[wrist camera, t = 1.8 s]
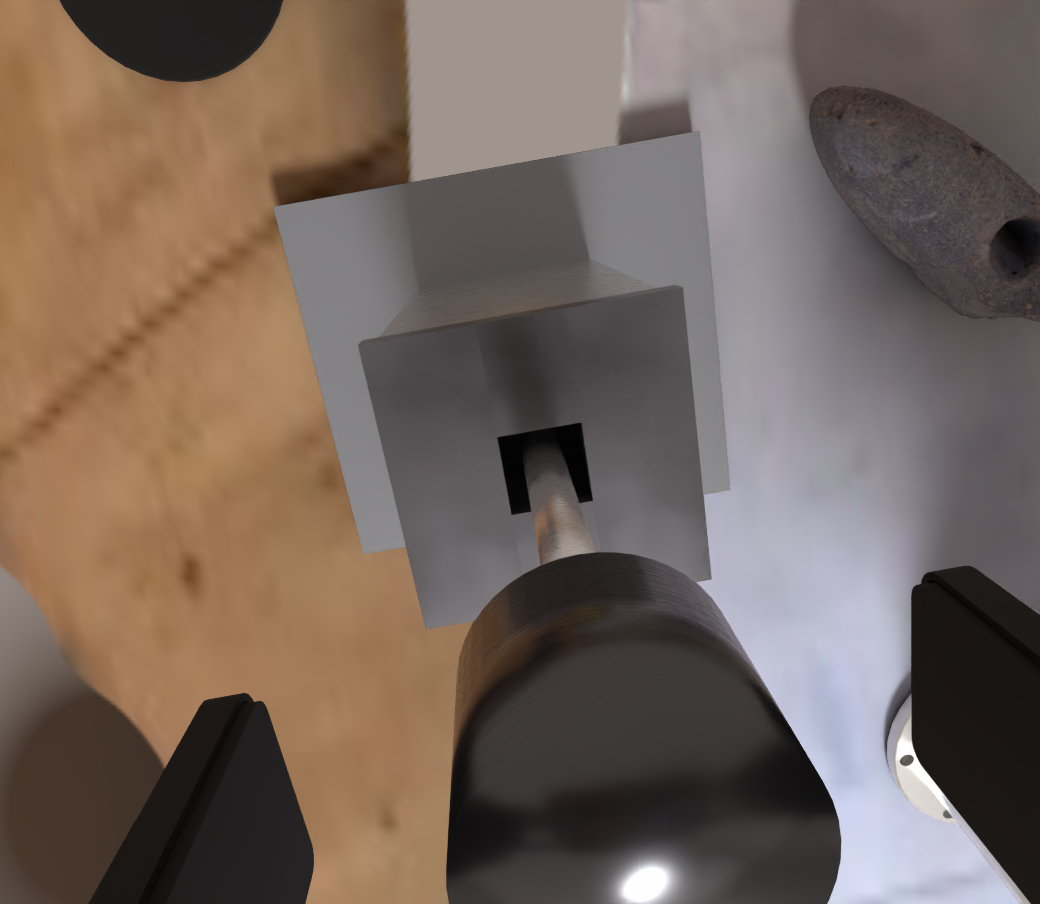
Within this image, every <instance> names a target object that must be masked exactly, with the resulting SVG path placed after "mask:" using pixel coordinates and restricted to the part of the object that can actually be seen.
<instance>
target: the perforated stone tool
mask: <svg viewBox="0 0 1040 904" xmlns="http://www.w3.org/2000/svg"><path fill="white" fill-rule="evenodd" d="M809 119H810V129H811V134H812V138H813V141H814V144H815V148H816V151H817V154H818V156H819V158H820V160H821V163H822V165H823V167H824V169H825V171H826V173H827V175H828V177H829V178H830V180H831V182H832V183H833V185H834V187H835V188H836V190H837V191H838V193H839V194H840V195H841V197H842V198H843V199H844V201H845V202H846V203H847V204H848V206H849V207H850V208H851V209H852V211H853V212H854V213H855V214H856V215H857V217H858V218H859V219H860V220H861V221H862V222H863V223H864V224H865V225H866V227H867V228H868V229H869V230H870V231H871V232H872V233H873V234H874V235H875V237H876V238H877V239H878V240H879V241H880V242H881V243H882V244H883V245H884V246H885V247H886V248H887V249H888V250H889V251H890V252H891V253H892V254H893V255H894V256H895V257H896V258H898V259H899V260H901V261H903V262H905V263H908V264H909V265H910V266H911V269H912V271H913V272H914V273H915V275H916V276H917V277H918V278H919V279H920V280H921V282H922V283H923V284H924V285H925V286H927V287H928V288H929V289H930V290H931V291H932V292H933V293H934V294H936V295H937V296H938V297H939V298H940V299H942V300H943V301H944V302H945V303H946V304H948V305H949V306H950V307H951V308H952V309H953V310H955V311H956V312H957V313H959V314H961V315H963V316H967V317H970V318H972V319H980V318H984V317H986V318H988V319H996V318H1002V317H1004V318H1006V317H1023V318H1027V319H1030V320H1034V321H1038V322H1040V195H1039V194H1038V193H1037V192H1036V191H1035V190H1034V189H1033V188H1032V187H1031V186H1029V184H1027V182H1025V181H1024V180H1023V179H1022V178H1021V177H1020V176H1019V175H1018V174H1017V173H1015V172H1014V171H1013V170H1012V169H1011V168H1010V167H1008V166H1007V165H1006V164H1005V163H1004V162H1003V161H1002V160H1001V159H999V158H998V157H997V156H996V155H995V154H993V153H992V152H990V151H989V150H988V149H986V148H985V147H983V146H982V145H981V144H980V143H979V142H977V141H975V140H974V139H972V138H971V137H969V136H968V135H967V134H965V132H964V131H962V130H960V129H958V128H956V127H955V126H953V125H951V124H949V123H947V122H945V121H944V120H942V119H940V118H939V117H937V116H935V115H934V114H932V113H930V112H928V111H927V110H925V109H923V108H920V107H918V106H915V105H913V104H911V103H909V102H908V101H906V100H904V99H901V98H898V97H896V96H894V95H891V94H887V93H884V92H882V91H877V89H869V88H860V87H846V86H841V87H835V88H829V89H826V90H825V91H823V92H821V93H819V95H817V96H816V97H815V98H814V99H813V102H812V105H811V109H810V115H809Z"/></svg>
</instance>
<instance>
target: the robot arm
mask: <svg viewBox="0 0 1040 904" xmlns="http://www.w3.org/2000/svg"><path fill="white" fill-rule="evenodd" d="M887 760H888V765H889V770H890V772H891V775H892V777H893V779H894V781H895V783H896V785H897V786H898V787H899V789H900V790H901V791H902V793H903V794H904V796H905V797H906V798H907V800H908V801H909V802H911V803H912V804H913V805H914V806H915V807H916V808H917V809H918V810H920V811H921V812H923V813H925V814H926V815H928V816H930V817H932V818H935V819H937V820H940V821H943V822H947V823H954V824H958V825H959V826H960V828H961V829H962V830H963V831H964V833H965V834H966V835H967V837H968V838H969V839H970V840H971V842H972V843H973V844H974V846H975V847H976V848H977V849H978V851H979V852H980V853H981V855H982V856H983V857H984V858H985V860H986V861H987V862H988V864H989V865H990V866H991V867H992V869H993V870H994V871H995V873H996V874H997V875H998V876H999V878H1000V879H1001V880H1002V882H1003V883H1004V884H1005V885H1006V887H1007V888H1008V889H1009V891H1010V892H1011V893H1012V895H1013V896H1014V897H1015V898H1016V900H1017V901H1018V902H1019V904H1040V615H1039V614H1037V613H1036V612H1035V611H1033V610H1032V609H1031V608H1029V607H1028V606H1026V605H1025V604H1024V603H1022V602H1021V601H1019V600H1018V599H1017V598H1015V597H1014V596H1013V595H1011V594H1010V593H1008V592H1007V591H1006V590H1004V589H1003V588H1002V587H1000V586H999V585H997V584H996V583H995V582H993V581H992V580H991V579H989V578H988V577H986V576H985V575H984V574H982V573H981V572H979V571H978V570H977V569H975V568H973V567H971V566H961V567H956V568H950V569H944V570H939V571H933V572H928V573H926V574H925V575H924V576H923V578H922V581H921V584H919V585H916V586H914V588H913V590H912V596H911V694H910V695H909V697H908V698H907V699H906V701H905V702H904V703H903V705H902V706H901V708H900V709H899V711H898V713H897V715H896V717H895V719H894V721H893V723H892V726H891V729H890V733H889V737H888V741H887ZM313 867H314V854H313V847H312V843H311V840H310V837H309V834H308V831H307V828H306V825H305V822H304V819H303V816H302V813H301V810H300V807H299V804H298V801H297V798H296V795H295V792H294V789H293V786H292V783H291V780H290V777H289V774H288V771H287V768H286V764H285V761H284V758H283V755H282V752H281V749H280V746H279V743H278V740H277V737H276V734H275V731H274V728H273V725H272V722H271V719H270V716H269V713H268V710H267V708H266V706H265V704H264V703H263V702H262V701H256V702H253V699H252V698H251V697H250V695H249V694H246V693H242V694H236V695H231V696H225V697H219V698H214V699H208V700H206V701H204V702H203V703H202V704H201V706H200V707H199V709H198V711H197V712H196V714H195V716H194V718H193V720H192V721H191V723H190V725H189V727H188V729H187V730H186V732H185V734H184V736H183V737H182V739H181V741H180V743H179V745H178V746H177V748H176V750H175V752H174V754H173V755H172V757H171V759H170V761H169V762H168V764H167V766H166V768H165V770H164V771H163V773H162V775H161V777H160V779H159V780H158V782H157V784H156V786H155V788H154V789H153V791H152V793H151V795H150V796H149V798H148V800H147V802H146V803H145V805H144V807H143V809H142V811H141V813H140V814H139V816H138V818H137V820H136V821H135V822H134V824H133V825H132V827H131V829H130V831H129V833H128V834H127V836H126V838H125V840H124V841H123V843H122V845H121V847H120V849H119V850H118V852H117V854H116V856H115V858H114V860H113V861H112V863H111V865H110V866H109V868H108V870H107V872H106V874H105V875H104V877H103V879H102V881H101V882H100V884H99V886H98V888H97V890H96V891H95V893H94V895H93V897H92V898H91V900H90V902H89V904H305V903H306V899H307V895H308V891H309V887H310V883H311V879H312V874H313Z"/></svg>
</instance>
